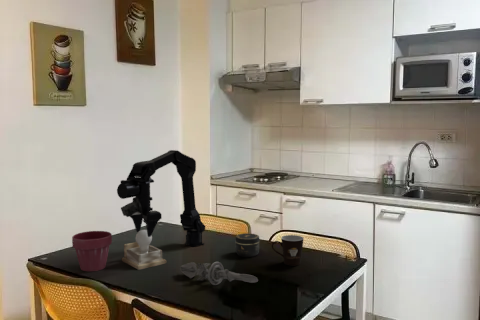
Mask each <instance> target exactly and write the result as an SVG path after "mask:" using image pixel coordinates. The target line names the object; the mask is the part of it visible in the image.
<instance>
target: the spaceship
mask: <svg viewBox="0 0 480 320" xmlns="http://www.w3.org/2000/svg"><path fill="white" fill-rule="evenodd" d="M208 266H209V268H208ZM180 273H182V274H183V275H185V276H186V277H188V278H189V279H192V278H194V277H195V276H198V277H197V278H196V279H195V280H196V281H202V282H203V281H204V280H206V281H207V280H208V282H209V283H210V284H211V285H212V286H218V285H220V284H221V282H222V281H223V280H224V279H225V280H228V281H229V282H232V281H243V282H245V283H246V282H247V283H251V284H253V283H254V284H255V283H257V282H258V281H259V279H258V277H256V276H254V275H251V274H246V273H239V272H238V273H237V272H234V271H229V269H228V268H227V269H224V266H223V264H222V262H219V261H215V262H212V264H211V263H206V262H204V263H197V264H196V262H194V261H191V262H188V263H185V264H182V265H180Z"/></svg>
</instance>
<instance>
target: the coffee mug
mask: <svg viewBox="0 0 480 320" xmlns="http://www.w3.org/2000/svg"><path fill="white" fill-rule="evenodd" d="M277 243H278V244H279V245H280V246H281V248H282V249H281V250H282V253H281V252H279V251H277V250H276V248H274V244H277ZM303 245H304V237H303V236H302V235H295V234H290V235H289V234H288V235H287V234H286V235H282V236H281V241H279V240H275V241H273V242H272V244H271V248H272V250H273V251H274V252H275V253H276V254H278V255H279V256H281V257H282V258H283V264H284V265H286V266H291V267H292V266H299V265H301V261H302V255H303Z"/></svg>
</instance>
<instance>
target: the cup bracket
mask: <svg viewBox="0 0 480 320" xmlns="http://www.w3.org/2000/svg"><path fill="white" fill-rule="evenodd" d="M123 253H124V254H123V256H124V257H122V258H121V261H122V262H123V263H125V264H127V265H129V266H131V267H133V268H135V269H137V270H138V271H140V270H144V269H147V268H151V267H152V268H153V267H156V266H161V265H164V264H167V260H166V259H165V258H163V250H162V249H160V248H158V247H156V246H153V245H151V244H149V248H148V253H144V254H141V249H140V246H139V245H138V243H137V242H136V241H135V242H130V243H125V244H123Z"/></svg>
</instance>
